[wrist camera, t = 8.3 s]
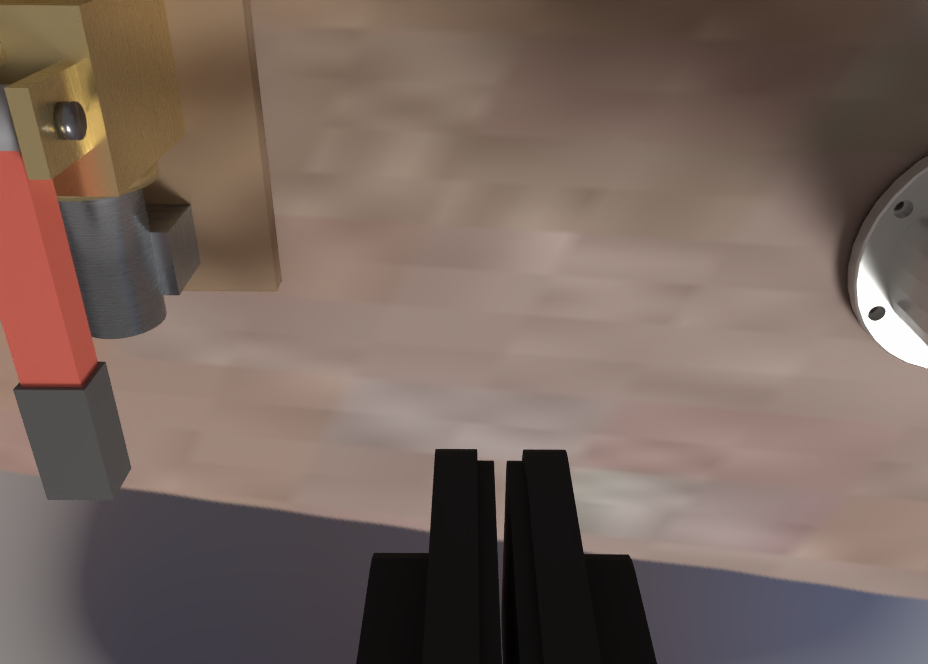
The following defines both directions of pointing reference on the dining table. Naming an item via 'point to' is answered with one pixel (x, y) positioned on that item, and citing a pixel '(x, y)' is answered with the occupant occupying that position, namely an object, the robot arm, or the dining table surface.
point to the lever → (53, 340)
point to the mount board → (220, 148)
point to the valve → (103, 146)
